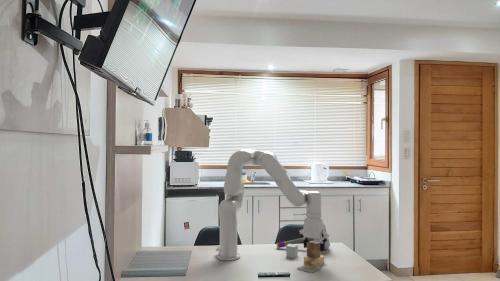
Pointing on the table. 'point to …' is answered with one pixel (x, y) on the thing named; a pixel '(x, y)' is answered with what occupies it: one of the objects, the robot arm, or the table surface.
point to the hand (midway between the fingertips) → (314, 249)
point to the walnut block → (313, 249)
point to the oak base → (314, 261)
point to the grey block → (292, 250)
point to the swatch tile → (309, 268)
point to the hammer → (284, 244)
